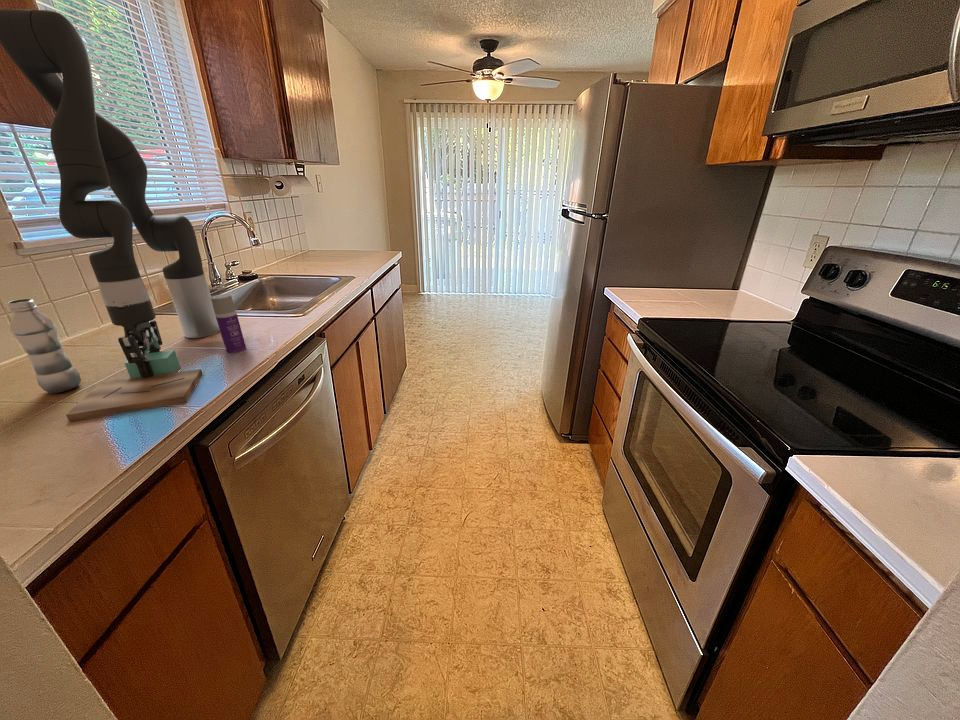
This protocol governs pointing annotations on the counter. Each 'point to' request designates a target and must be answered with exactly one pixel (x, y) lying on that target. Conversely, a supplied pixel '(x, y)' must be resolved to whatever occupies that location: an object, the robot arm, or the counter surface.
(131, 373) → the block
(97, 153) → the robot arm
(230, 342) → the container
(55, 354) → the plastic bottle
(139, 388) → the oak board
